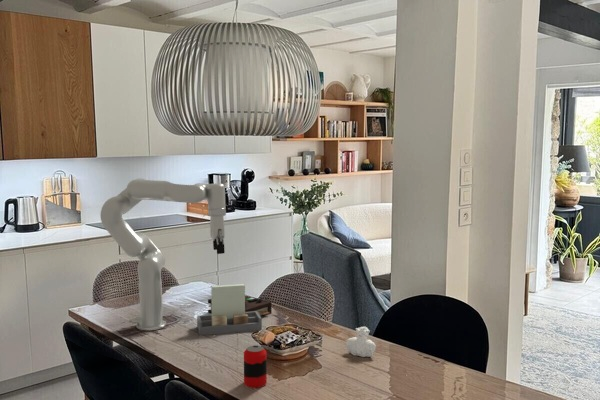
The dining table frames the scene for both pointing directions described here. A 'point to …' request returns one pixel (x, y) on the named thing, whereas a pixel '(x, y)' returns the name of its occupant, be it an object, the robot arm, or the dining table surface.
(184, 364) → the dining table surface
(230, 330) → the rack
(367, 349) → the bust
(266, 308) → the decorative book
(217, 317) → the birch offcut
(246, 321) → the tan wooden block
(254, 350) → the soda can
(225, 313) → the sage board
